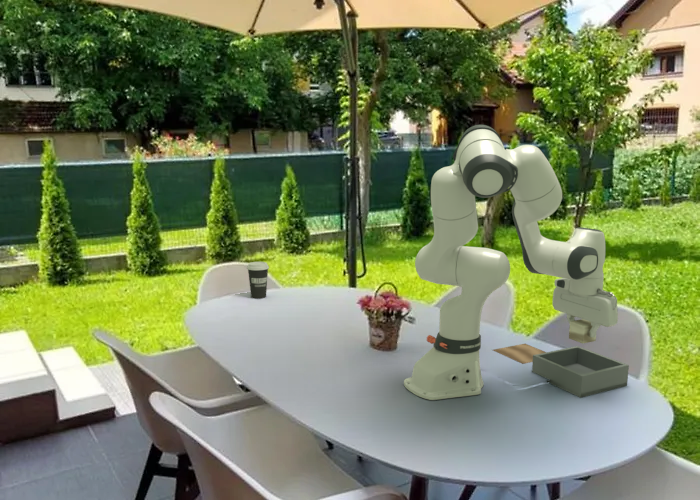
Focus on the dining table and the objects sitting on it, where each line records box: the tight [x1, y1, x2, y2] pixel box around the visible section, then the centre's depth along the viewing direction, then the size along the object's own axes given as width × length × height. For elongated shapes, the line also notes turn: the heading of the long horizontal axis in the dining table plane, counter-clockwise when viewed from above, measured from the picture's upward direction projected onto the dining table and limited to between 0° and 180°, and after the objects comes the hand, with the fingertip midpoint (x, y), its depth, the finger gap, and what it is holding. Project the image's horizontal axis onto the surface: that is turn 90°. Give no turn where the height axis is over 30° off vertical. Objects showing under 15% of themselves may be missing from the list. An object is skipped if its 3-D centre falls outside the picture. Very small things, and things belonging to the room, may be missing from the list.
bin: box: [531, 345, 630, 399], centre depth 171 cm, size 18×18×6 cm
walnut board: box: [492, 343, 547, 365], centre depth 190 cm, size 14×14×1 cm
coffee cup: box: [246, 261, 270, 300], centre depth 263 cm, size 10×10×15 cm
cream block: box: [568, 318, 597, 345], centre depth 169 cm, size 5×5×5 cm
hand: (582, 333), depth 169 cm, fingers closed on cream block, 5 cm apart
